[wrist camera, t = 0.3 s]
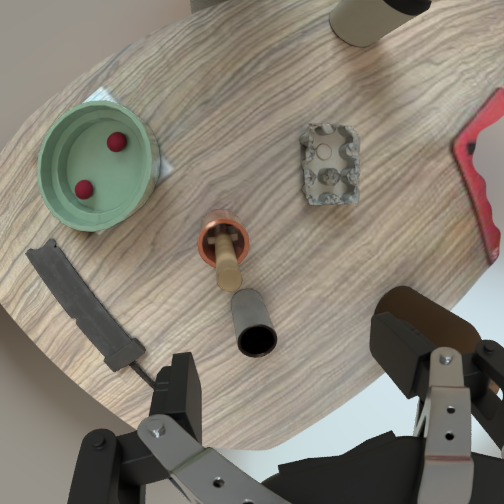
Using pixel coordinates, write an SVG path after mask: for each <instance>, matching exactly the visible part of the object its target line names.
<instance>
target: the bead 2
mask: <svg viewBox="0 0 504 504" xmlns="http://www.w3.org/2000/svg"><path fill="white" fill-rule="evenodd" d="M126 143H127V139H126V136H125V135H124V134H123V133H121V132H114V133H112V134H111V135H110V136H109V137H108V139H107V147H108V148H109V150H110V151H112V152H120V151H122V150H123V149H124V148H125V146H126Z"/></svg>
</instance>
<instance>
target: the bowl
mask: <svg viewBox="0 0 504 504" xmlns="http://www.w3.org/2000/svg"><path fill="white" fill-rule="evenodd" d="M114 132H121V133H123V134H124V135H125V136H126V139H127V143H126V146H125V148H124V149H123V150H122V151H120V152H112V151H110V150H109V148H108V147H107V139H108V137H109V136H110V135H111V134H112V133H114ZM159 169H160V154H159V146H158V143H157V141H156V139H155V136H154V134H153V132H152V130H151V129H150V128H149V127H148V125H147V124H146V123H145V121H143V120H142V119H141V118H139V117H138V116H136V115H135V114H134V113H132V112H131V111H129V110H128V109H126V108H125V107H123V106H122V105H120V104H117V103H113V102H110V101H89V102H86V103H83V104H80V105H77V106H75V107H73V108H72V109H70V110H69V111H67V112H66V113H64V114H63V115H62V116H61V117H60V118H59V119H58V120H57V121H56V122H55V123H54V124H53V125H52V127H51V128H50V130H49V132H48V133H47V135H46V137H45V139H44V140H43V143H42V146H41V149H40V152H39V156H38V164H37V179H38V186H39V190H40V193H41V196H42V198H43V201H44V203H45V205H46V206H47V208H48V209H49V210H50V212H51V213H52V215H53V216H54V217H56V218H57V219H58V220H59V221H61V222H62V223H63V224H64V225H66V226H69V227H71V228H73V229H76V230H79V231H89V232H94V231H99V230H104V229H108V228H110V227H112V226H114V225H116V224H117V223H119V222H121V221H123V220H125V219H126V218H128V217H130V216H131V215H133V214H134V213H135V212H136V211H138V210H139V209H140V208H141V207H142V206H143V205H144V204H145V203H146V201H147V200H148V198H149V197H150V195H151V194H152V192H153V190H154V188H155V185H156V182H157V180H158V177H159ZM81 180H88V181H90V182H91V183H92V185H93V193H92V195H91V196H90V197H89V198H88V199H85V200H82V199H79V198H78V197H77V196H76V194H75V186H76V184H77V183H78V182H79V181H81Z"/></svg>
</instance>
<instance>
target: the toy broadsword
mask: <svg viewBox="0 0 504 504" xmlns="http://www.w3.org/2000/svg"><path fill="white" fill-rule="evenodd" d="M55 245H56V242H55V241H54V239H49V240H48V241H47V243H46V244H45V245H44V246H43V247H42V249H38V250H33V249H29V250H28V251H27V252H26V253H25V254H26V255H27V257H28V259H29V260H30V262H31V263H32V265H33V266H34V268H35V269H36V271H37V272H38V274H39V275H40V277H41V278H42V280H43V281H44V282H45V284H46V285H47V287H48V288H49V290H50V291H51V292H52V294H53V295H54V296H55V298H56V299H57V300H58V302H59V303H60V304H61V306H62V307H63V308H64V310H65V311H66V312H67V313H68V315H69V316H70V317H71V318H77V321H76V324H77V326H78V327H79V328H80V329H81V330H82V332H83V333H84V334H85V335H86V336H87V337H88V339H89V340H90V341H91V342H92V343H93V344H94V345H95V347H96V348H97V349H98V350H99V351H100V352H101V353H102V354H103V355H104V356H105V359H104V362H105V363H106V364H107V366H108V367H109V368H110V369H111V370H112V371H113V372H116V371H118V370H120V369H121V368H123V367H125V366H127V365H129V366H131V367H132V368H133V369H134V370H135V371H136V373H137V374H138V375H140V377H141V378H142V379H144V380H145V381H146V382H147V383H148V384H149V385H150V386H151V387H152V388H153V389H154V387H155V383H154V382H153V381H152V380H151V379H150V378H149V377H148V376H147V375H146V374H145V373H144V372H142V370H141V369H140V368H139V367H138V366H137V365H136V364H135V363H134V362H133V361H135V360H136V359H137V358H139V357H140V356H142V355H143V354H144V353H145V351H146V349H145V348H144V347H143V346H142V345H141V344H140V343H139V342H138V341H137V339H136V338H134V339H132V340H131V339H130V338H129V337H128V336H127V335H126V334H125V333H124V331H123V330H122V329H121V328H120V327H119V326H118V325H117V323H116V322H115V321H114V320H113V319H112V317H111V316H110V315H109V314H108V313H107V311H106V310H105V309H104V308H103V307H102V305H101V304H100V303H99V302H98V300H97V299H96V298H95V296H94V295H93V294H92V293H91V291H90V290H89V289H88V287H87V286H86V285H85V283H84V282H83V281H82V279H81V278H80V277H79V275H78V274H77V273H76V271H75V270H74V268H73V267H72V266H71V264H70V263H69V261H68V260H67V258H66V257H65V256H64V254H63V253H62V251H61V250H60V248H59V247H55Z"/></svg>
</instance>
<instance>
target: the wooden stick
mask: <svg viewBox="0 0 504 504" xmlns="http://www.w3.org/2000/svg"><path fill="white" fill-rule="evenodd" d="M207 239H208V244H215V255H216V273H217V284H218V286H219V287H220V288H221V289H222V290H224V291H228V292H231V291H235V290H236V289H238V288H239V287H240V285H241V283H242V276H241V272H240V269H239V265H238V262H237V258H236V255H235V251H234V248H233V244H232V241H235V240H238V236H237V232H236V230H235V227H234V226H226V225H225V224H218V225H216V227H215V228H213V229H208V236H207Z"/></svg>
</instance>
